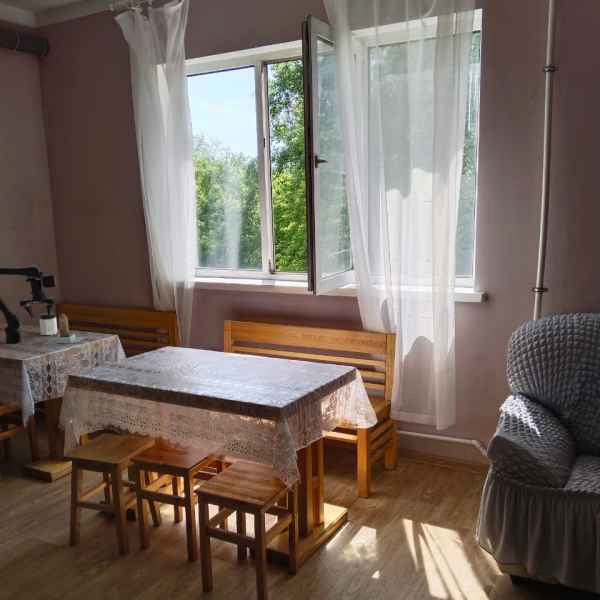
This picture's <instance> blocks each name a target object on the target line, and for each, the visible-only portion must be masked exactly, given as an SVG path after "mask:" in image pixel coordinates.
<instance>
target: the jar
mask: <svg viewBox="0 0 600 600" xmlns="http://www.w3.org/2000/svg"><path fill="white" fill-rule="evenodd" d="M57 322H58V321H57V317H56V313H55V312H52V311H51V315H50V317H49V316H48V311H46V312H42V313H39V327H40V336H42V335H51V336H54V335H53V334H55V335H57V334H58V333H57V332H58V324H57ZM56 333H57V334H56Z"/></svg>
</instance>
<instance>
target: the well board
mask: <svg viewBox="0 0 600 600" xmlns="http://www.w3.org/2000/svg"><path fill="white" fill-rule="evenodd" d="M82 339H83V340H85V339H86V336H76V334H75V333H71V334H70V333H69V337H67V338H60V334H58V335H57V336H55V337H52V338H50V339H49V340H48V341H46V342H44V345H57V344H56V343H70V344H79V343H78V342H80V341H81V340H82ZM83 340H82V341H83ZM82 341H81V342H82ZM81 342H80V343H81Z"/></svg>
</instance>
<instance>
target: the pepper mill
mask: <svg viewBox="0 0 600 600" xmlns="http://www.w3.org/2000/svg"><path fill="white" fill-rule="evenodd" d="M58 328H59V335H60V338H67V337H69V334H70V329H69V319H68V317H67V315H66V314H65V313H61V314H60V316H59V318H58Z"/></svg>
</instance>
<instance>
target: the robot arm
mask: <svg viewBox="0 0 600 600" xmlns="http://www.w3.org/2000/svg"><path fill="white" fill-rule="evenodd" d="M0 275H3V276H4V275H6V276H8V275H9V276H23V277H27V278H26V279H25V282H26V283H27V282H28V283H29V286H30V295H31V298H32V299H30V298H24V299H21V300H19V307H22V308H23V309H25V310H26V312H27V313H28V314H29V316H30V317H31V318H32V319H34V313H33V307H32V306H33V305H34V304H46V312H48V316H49V317H50V315H51V312H52V310H53V307H54V305H56V303H58V302H59V300H58V298H57V297H56V296H54V297H53V296H51V297H49V294H48V293H47V292H45V290H44V289H43V288H45V289H49V288H51V289H52V288H56V287H57V286H58V281H57V277H56V275H55V274H49V275H46V274H45V273H44V272H42V270H41V267H40V266H38V265H35V264H34V265H33V264H32V265H28V266H23V267H17V266H16V267H14V266H13V267H12V266H10V267H9V266H8V267H7V266H6V267H3V266H2V267H1V266H0ZM0 312H1V313H2V314H3V316H4V318H5V321H6V323H7V326H6V327H5V328H4V333H5V340H6V341H5V343H8V344H18V343H20V342H22V335H21V334H22V333H20V330H19V329H20V327H21V326H22V325H23V317H22V316H20V313H19V311H18V312H14V311H12V309H11V308H10V306H9V305H8V303H7V302H6V300H4V298H3V297H2V295H1V294H0Z"/></svg>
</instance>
